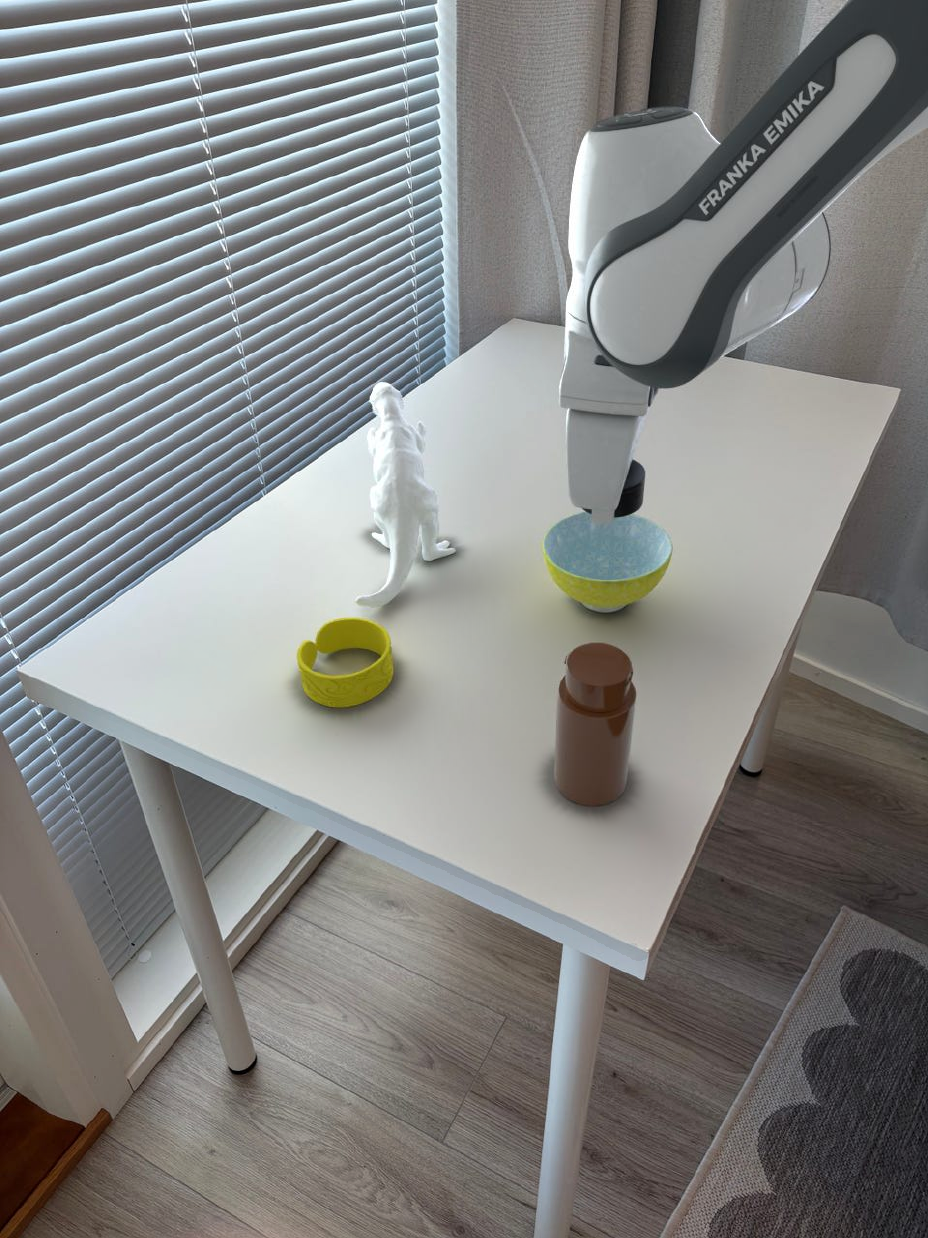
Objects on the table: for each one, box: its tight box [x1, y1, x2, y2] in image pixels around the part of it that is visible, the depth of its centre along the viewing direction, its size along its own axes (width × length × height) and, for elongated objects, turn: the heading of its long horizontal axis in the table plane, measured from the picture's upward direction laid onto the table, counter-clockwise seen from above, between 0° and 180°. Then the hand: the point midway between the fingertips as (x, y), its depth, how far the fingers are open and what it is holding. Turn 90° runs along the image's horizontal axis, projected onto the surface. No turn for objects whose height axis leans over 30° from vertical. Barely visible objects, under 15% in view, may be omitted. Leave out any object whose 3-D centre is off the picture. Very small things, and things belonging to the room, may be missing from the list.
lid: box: [581, 458, 646, 518], centre depth 81 cm, size 6×6×3 cm
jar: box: [553, 642, 637, 807], centre depth 67 cm, size 5×5×12 cm
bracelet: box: [296, 617, 394, 708], centre depth 80 cm, size 7×8×3 cm
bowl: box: [542, 511, 674, 614], centre depth 86 cm, size 11×12×6 cm
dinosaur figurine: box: [354, 381, 457, 609], centre depth 89 cm, size 20×10×15 cm, turn 170°
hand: (610, 498), depth 81 cm, fingers closed on lid, 5 cm apart
